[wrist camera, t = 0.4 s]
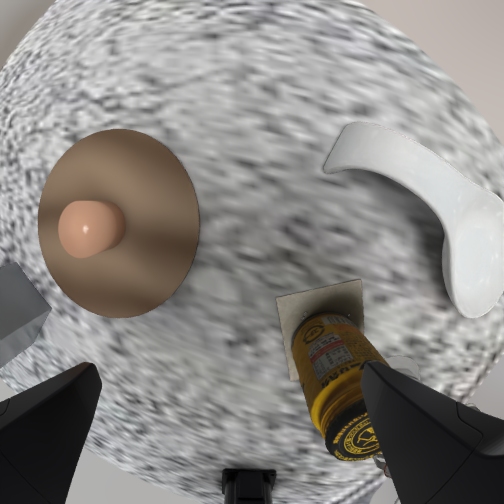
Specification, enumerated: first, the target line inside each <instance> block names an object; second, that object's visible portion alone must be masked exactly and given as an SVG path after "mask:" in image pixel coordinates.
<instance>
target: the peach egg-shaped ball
mask: <svg viewBox="0 0 504 504" xmlns="http://www.w3.org/2000/svg"><path fill="white" fill-rule="evenodd" d="M58 233H59V238H60V241H61V244H62V246H63V247H64V249H65V250H66V251H67V252H68V253H69V254H70V255H71V256H73V257H76V258H86V257H89V256H92V255H95V254H98V253H100V252H103V251H106V250H109V249H112V248H114V247H115V246H117V245H118V244H119V243H120V241H121V240H122V238H123V236H124V233H125V218H124V215H123V213H122V211H121V209H120V208H119V207H118V206H117V205H116V204H114V203H113V202H110V201H75V202H72V203H71V204H69V205H68V206H67V207H66V208H65V209H64V210H63V212H62V214H61V216H60V220H59V225H58Z"/></svg>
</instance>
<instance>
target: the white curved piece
mask: <svg viewBox="0 0 504 504" xmlns="http://www.w3.org/2000/svg"><path fill="white" fill-rule="evenodd" d="M347 169H363V170H368V171H372V172H375V173H378V174H381V175H383V176H386V177H388V178H390V179H392V180H394V181H396V182H397V183H399V184H401V185H402V186H404V187H406V188H407V189H409V190H410V191H412V192H413V193H414V194H416V195H417V196H418V197H419V198H420V199H422V200H423V201H424V202H425V203H426V204H427V205H428V206H429V207H430V208H431V209H432V210H433V212H434V213H435V214H436V216H437V217H438V219H439V220H440V222H441V224H442V227H443V230H444V233H445V238H444V243H443V250H442V271H443V277H444V282H445V286H446V289H447V292H448V295H449V297H450V300H451V301H452V303H453V305H454V306H455V308H456V309H457V311H458V312H459V313H460V314H461V315H462V316H464V317H466V318H470V319H473V318H479V317H481V316H483V315H484V314H486V313H487V312H489V311H490V310H491V309H492V308H493V307H494V305H495V304H496V303H497V301H498V300H499V298H500V297H501V295H502V293H503V291H504V202H503V201H502V200H501V199H500V198H499V197H498V196H497V195H496V194H495V193H493V192H491V191H489V190H487V189H485V188H483V187H481V186H479V185H477V184H476V183H474V182H472V181H471V180H469V179H468V178H467V177H465V176H464V175H462V174H461V173H460V172H459V171H457V170H456V169H455V168H454V167H452V166H451V165H450V164H449V163H448V162H446V161H445V160H444V159H442V158H441V157H440V156H438V155H437V154H435V153H434V152H432V151H431V150H429V149H428V148H426V147H424V146H423V145H421V144H419V143H418V142H416V141H414V140H412V139H410V138H408V137H406V136H404V135H402V134H400V133H398V132H395V131H393V130H391V129H388V128H385V127H382V126H379V125H376V124H371V123H367V122H353V123H350V124H348V125H347V126H346V127H345V128H344V130H343V132H342V133H341V135H340V137H339V139H338V141H337V142H336V144H335V146H334V148H333V150H332V152H331V153H330V155H329V157H328V159H327V161H326V163H325V166H324V172H325V173H327V174H332V173H336V172H339V171H343V170H347Z"/></svg>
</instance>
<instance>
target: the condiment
mask: <svg viewBox="0 0 504 504" xmlns="http://www.w3.org/2000/svg"><path fill="white" fill-rule="evenodd" d="M276 302H277V307H278V312H279V318H280V323H281V329H282V335H283V340H284V346H285V352H286V357H287V363H288V369H289V375H290V380H291V381H295V380H300V383H301V387H302V389H303V393H304V395H305V399H306V403H307V407H308V410H309V413H310V417H311V420H312V422H313V424H314V425H315V426H316V428H317V429H319V431H321V435H322V437H323V438H324V439H325V442H326V443H325V445H326V447H327V449H328V451H329V452H330V454H332V455H333V456H335V457H336V458H337V459H338V460H342V461H359V460H365V459H368V458H371V457H374V456H375V455H379V454H380V453H382V451H381V448H380V446H379V443H378V441H377V438H376V436H375V433H374V431H373V428H372V425H371V422H370V419H369V415H368V412H367V408H366V404H365V400H364V397H363V393H362V389H361V378H362V374H363V370H364V366H365V364H366V363H367V362H370V361H376V360H377V361H380V362H382V363H383V364H385V365H387V366H389V367H390V365H389V364H388V363H387V362H386V360H385V359H384V358H383V357H382V356H381V355H380V354H379V352H378V351H377V350H376V349H375V347H374V346H373V345H372V344H371V343H370V341H368V339H367V338H366V337H365V336H364V314H363V300H362V284H361V279H360V280H355V281H350V282H346V283H341V284H337V285H331V286H327V287H323V288H318V289H313V290H309V291H305V292H301V293H295V294H291V295H287V296H282V297H277V298H276ZM305 312H307V314H306V315H305V316H304V313H305ZM349 314H350V316H348V315H349ZM302 317H304V319H303V320H301V318H302Z"/></svg>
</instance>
